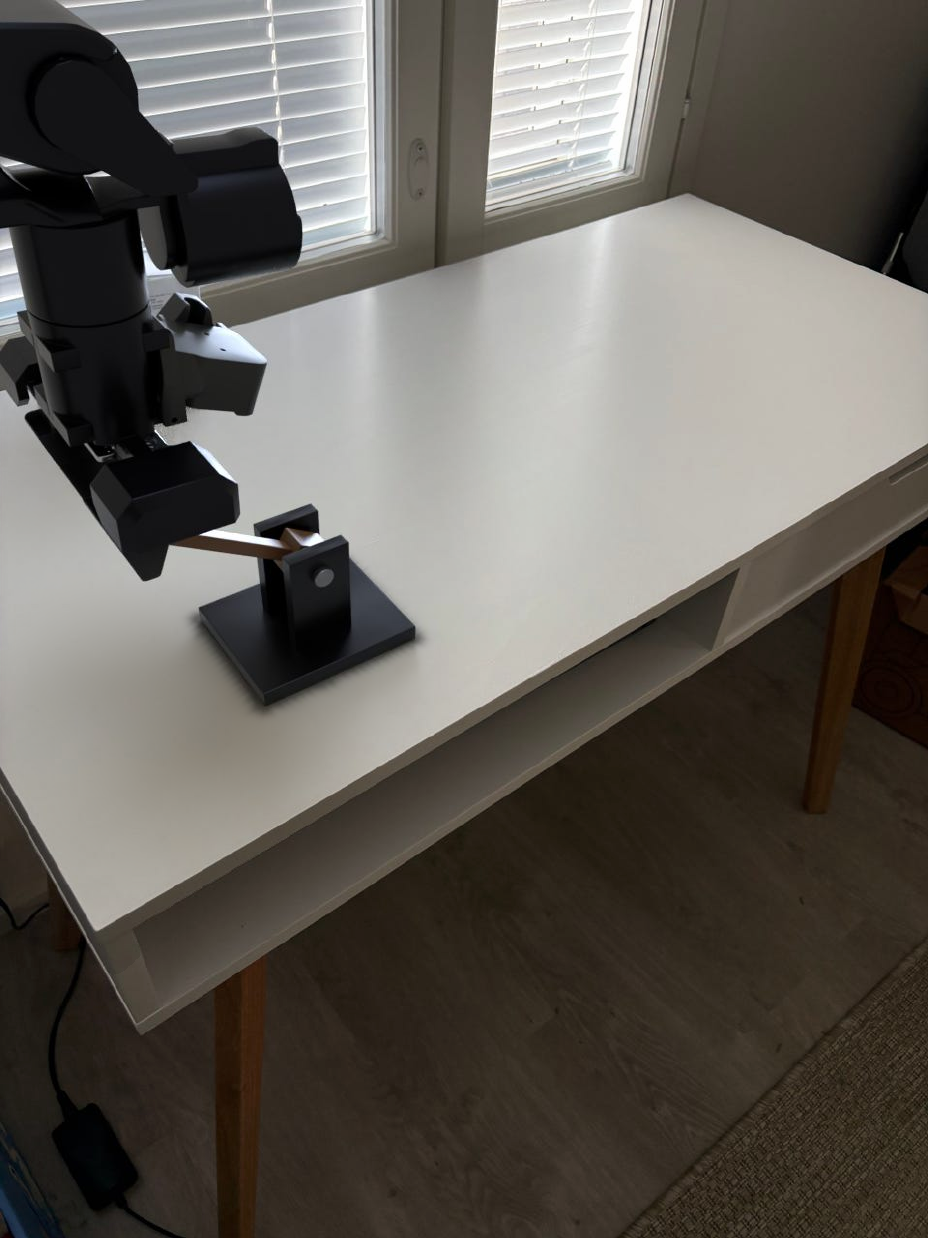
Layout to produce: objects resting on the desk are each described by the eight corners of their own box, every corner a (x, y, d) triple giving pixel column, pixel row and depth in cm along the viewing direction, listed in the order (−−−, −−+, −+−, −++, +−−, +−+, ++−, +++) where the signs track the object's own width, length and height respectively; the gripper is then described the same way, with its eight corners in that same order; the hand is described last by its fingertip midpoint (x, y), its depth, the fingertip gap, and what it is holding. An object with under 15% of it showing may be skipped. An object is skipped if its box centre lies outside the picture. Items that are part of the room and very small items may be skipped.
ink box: (215, 391, 95) (199, 270, 87) (162, 400, 93) (141, 278, 85) (193, 348, 101) (177, 231, 93) (143, 356, 99) (121, 238, 91)
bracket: (265, 706, 67) (253, 609, 61) (200, 619, 73) (183, 522, 67) (415, 638, 72) (418, 543, 66) (344, 562, 78) (340, 467, 72)
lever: (133, 568, 57) (149, 532, 56) (100, 521, 60) (114, 487, 59) (329, 591, 68) (344, 561, 67) (293, 550, 71) (307, 522, 70)
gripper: (331, 347, 47) (332, 597, 58) (166, 208, 58) (192, 441, 69) (98, 404, 42) (146, 668, 53) (-36, 240, 53) (26, 487, 63)
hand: (132, 552), depth 59 cm, fingers closed on lever, 5 cm apart
